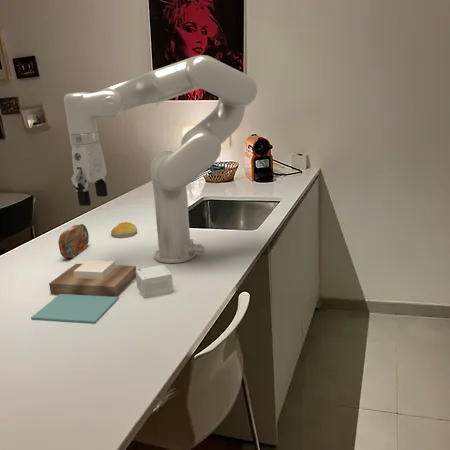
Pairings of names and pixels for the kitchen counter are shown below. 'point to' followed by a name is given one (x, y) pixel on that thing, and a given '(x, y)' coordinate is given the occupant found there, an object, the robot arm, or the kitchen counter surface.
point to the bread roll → (124, 230)
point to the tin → (73, 241)
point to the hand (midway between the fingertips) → (93, 200)
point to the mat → (75, 308)
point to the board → (94, 282)
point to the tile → (94, 269)
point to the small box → (154, 281)
